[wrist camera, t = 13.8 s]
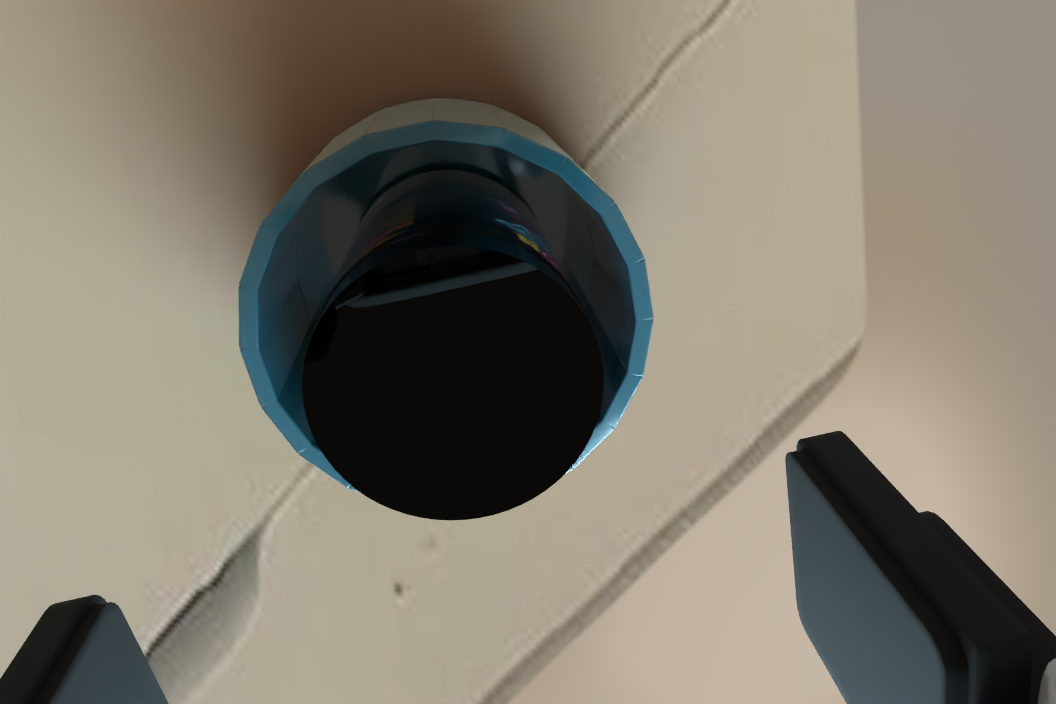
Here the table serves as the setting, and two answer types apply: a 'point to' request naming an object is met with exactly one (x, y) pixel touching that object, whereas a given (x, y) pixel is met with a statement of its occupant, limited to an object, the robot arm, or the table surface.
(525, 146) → the cup
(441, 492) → the supplement container
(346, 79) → the table surface
